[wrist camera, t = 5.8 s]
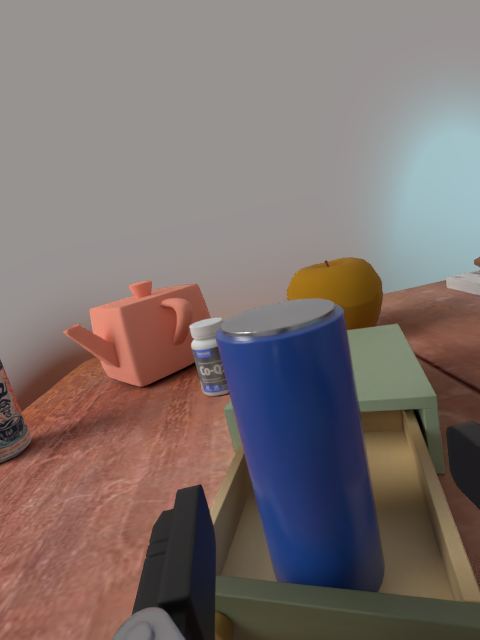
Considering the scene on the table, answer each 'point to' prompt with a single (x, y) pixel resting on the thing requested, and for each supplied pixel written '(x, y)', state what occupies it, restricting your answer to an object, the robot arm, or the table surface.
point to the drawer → (397, 544)
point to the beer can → (11, 422)
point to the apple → (342, 289)
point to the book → (465, 282)
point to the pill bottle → (208, 356)
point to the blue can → (304, 442)
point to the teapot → (144, 332)
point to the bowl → (477, 261)
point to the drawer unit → (386, 384)
